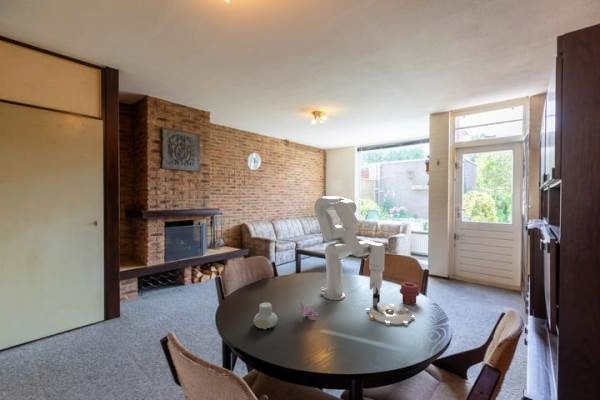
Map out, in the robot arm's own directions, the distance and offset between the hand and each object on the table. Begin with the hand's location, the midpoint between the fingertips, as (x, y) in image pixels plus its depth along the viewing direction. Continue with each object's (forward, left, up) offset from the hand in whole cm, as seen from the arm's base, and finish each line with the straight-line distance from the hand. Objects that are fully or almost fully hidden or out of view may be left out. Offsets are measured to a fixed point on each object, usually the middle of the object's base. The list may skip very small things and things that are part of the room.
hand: (376, 301), depth 144 cm
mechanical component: (+15, +15, -5) cm, 22 cm away
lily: (-28, -27, -5) cm, 39 cm away
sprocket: (+8, -6, -3) cm, 10 cm away
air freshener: (-42, -40, -5) cm, 58 cm away
